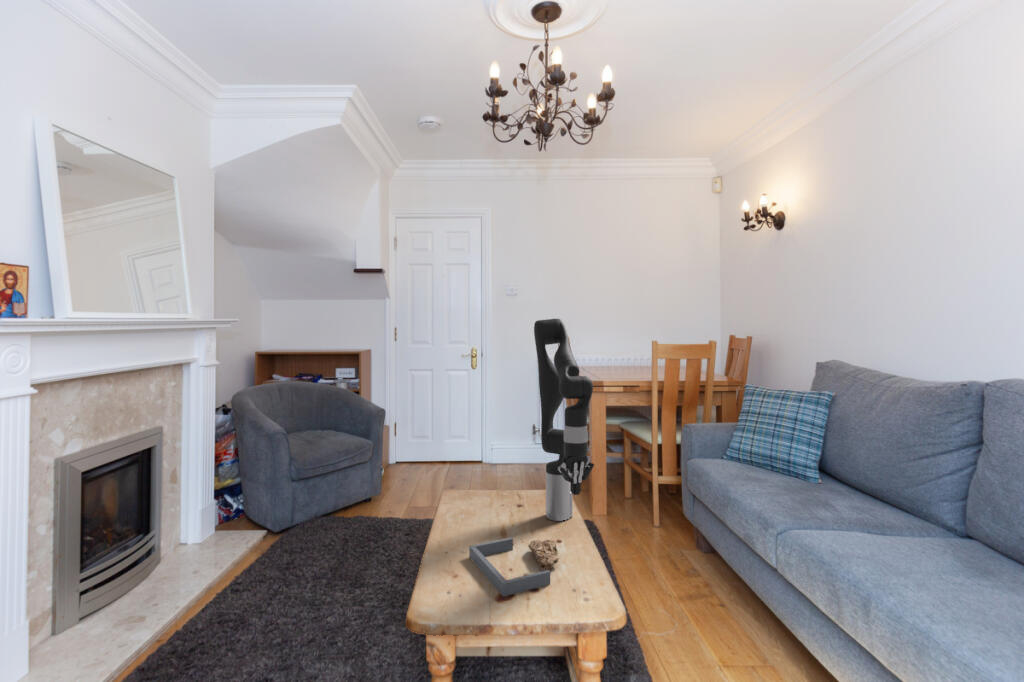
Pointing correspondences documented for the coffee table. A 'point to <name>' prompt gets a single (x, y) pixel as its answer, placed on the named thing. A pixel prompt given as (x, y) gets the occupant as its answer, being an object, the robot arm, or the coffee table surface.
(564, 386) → the robot arm
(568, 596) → the coffee table surface
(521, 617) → the coffee table surface
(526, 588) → the bracket
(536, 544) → the rock
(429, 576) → the coffee table surface
